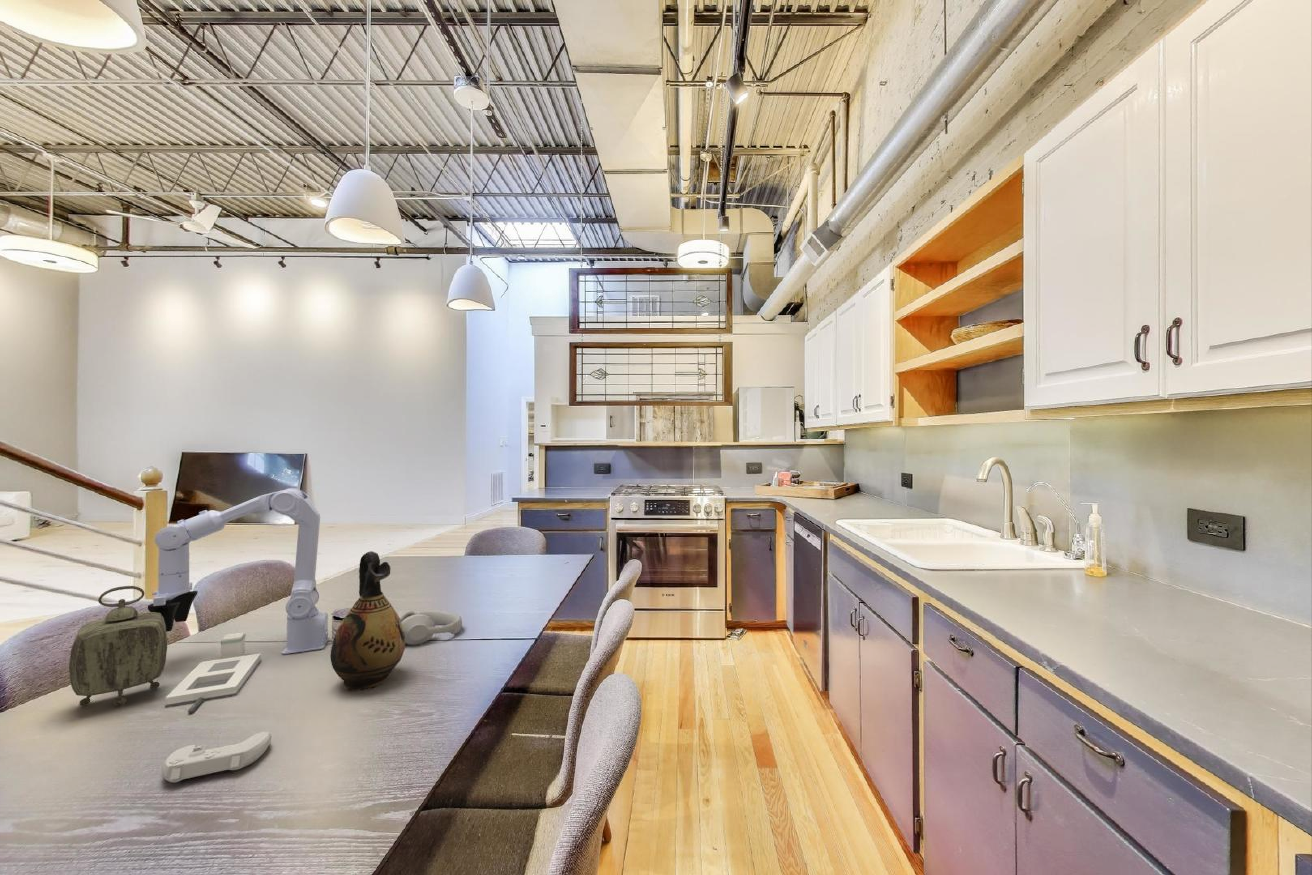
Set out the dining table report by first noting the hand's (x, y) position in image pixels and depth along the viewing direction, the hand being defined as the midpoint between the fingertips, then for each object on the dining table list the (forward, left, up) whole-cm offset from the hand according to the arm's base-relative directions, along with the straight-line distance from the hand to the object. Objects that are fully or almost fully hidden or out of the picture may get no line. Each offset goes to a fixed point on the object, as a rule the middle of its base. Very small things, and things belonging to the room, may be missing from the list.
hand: (173, 626), depth 129 cm
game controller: (-24, +56, -11) cm, 62 cm away
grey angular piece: (-41, +12, -10) cm, 44 cm away
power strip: (-13, +19, -10) cm, 25 cm away
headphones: (-58, +4, -10) cm, 59 cm away
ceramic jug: (-45, +30, -10) cm, 55 cm away
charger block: (-12, +1, -10) cm, 16 cm away
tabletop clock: (+3, +19, -10) cm, 21 cm away
